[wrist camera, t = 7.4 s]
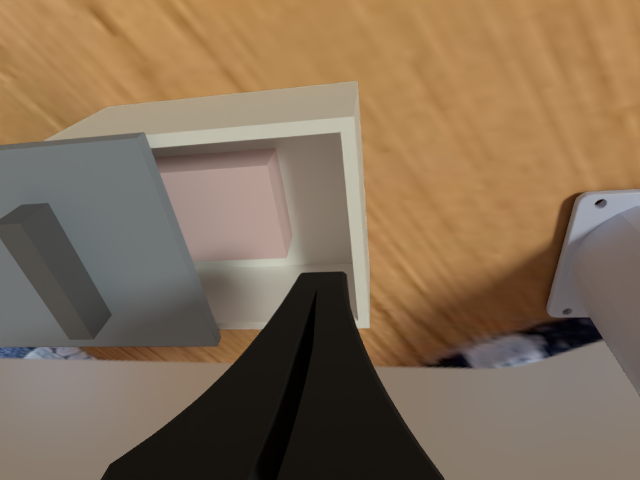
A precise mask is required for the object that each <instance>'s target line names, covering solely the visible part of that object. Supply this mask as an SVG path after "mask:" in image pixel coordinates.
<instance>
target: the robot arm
mask: <svg viewBox="0 0 640 480" xmlns="http://www.w3.org/2000/svg"><path fill="white" fill-rule="evenodd" d="M600 199H603V200H602V202H601V203H599V204H597V205H594V204H595V203H596V202H597V201H598V200H600ZM567 308H568V309H567ZM565 309H567V310H565ZM546 310H547V312H548V314H549V316H551V317H555V318H561V317H590V319H591V320H592V322H593V323H594V325H595V326H596V328H597V330H598V331H599V333H600V334H601V336H602V338H603V339H604V341H605V342H606V344H607V345H608V347H609V348H610V350H611V352H612V353H613V355H614V356H615V358H616V360H617V361H618V363H619V364H620V366H621V368H622V369H623V371H624V372H625V374H626V376H627V377H628V379H629V380H630V382H631V384H632V385H633V387H634V388H635V390H636V391H637V393H638V395H639V396H640V189H629V190H611V191H593V192H585V193H582V194H581V195H579V196H578V197H577V198H576V200H575V202H574V206H573V209H572V213H571V217H570V221H569V224H568V228H567V232H566V236H565V239H564V243H563V247H562V251H561V254H560V258H559V262H558V266H557V269H556V273H555V277H554V281H553V284H552V288H551V292H550V296H549V299H548V303H547V307H546ZM101 480H445V479H444V477H443V476H442V474H441V473H440V472H439V470H438V469H437V468H436V466H435V465H434V464H433V462H432V461H431V460H430V458H429V457H428V456H427V454H426V453H425V451H424V450H423V449H422V447H421V446H420V444H419V443H418V441H417V440H416V438H415V437H414V435H413V434H412V432H411V431H410V429H409V428H408V426H407V425H406V423H405V422H404V420H403V418H402V417H401V415H400V413H399V412H398V410H397V408H396V407H395V405H394V403H393V402H392V400H391V398H390V397H389V395H388V394H387V392H386V390H385V388H384V386H383V384H382V382H381V381H380V379H379V377H378V375H377V373H376V371H375V369H374V367H373V365H372V363H371V360H370V358H369V356H368V354H367V351H366V349H365V347H364V344H363V342H362V339H361V337H360V334H359V332H358V329H357V326H356V323H355V320H354V317H353V314H352V310H351V307H350V299H349V290H348V280H347V274H346V273H344V272H343V271H337V272H305V273H301V274H300V275H299V276H298V278H297V279H296V281H295V283H294V284H293V286H292V288H291V289H290V291H289V292H288V294H287V296H286V297H285V299H284V300H283V302H282V303H281V305H280V306H279V307H278V309H277V310H276V312H275V313H274V314H273V316H272V317H271V319H270V320H269V322H268V323H267V324H266V326H265V327H264V328H263V329H262V331H261V332H260V333H259V334H258V336H257V337H256V338H255V339H254V341H253V342H252V343H251V344H250V346H249V347H248V348H247V349H246V350H245V351H244V353H243V354H242V355H241V356H240V357H239V358H238V359H237V360H236V362H235V363H234V364H233V365H232V366H231V367H230V368H229V369H228V370H227V371H226V372H225V373H224V374H223V375H222V376H221V377H220V378H219V379H218V380H217V381H216V382H215V383H214V384H213V385H212V386H211V387H210V388H209V389H208V390H207V391H206V392H205V393H203V394H202V395H201V396H200V397H199V398H198V399H197V400H195V401H194V402H193V403H192V404H191V405H190V406H188V407H187V408H186V409H185V410H183V411H182V412H181V413H180V414H179V415H177V416H176V417H175V418H174V419H172V420H171V421H170V422H169V423H168V424H166V425H165V426H164V427H163V428H161V429H160V430H158V431H157V432H156V433H154V434H153V435H152V436H150V437H149V438H148V439H146V440H145V441H143V442H142V443H140V444H139V445H137V446H136V447H135V448H133V449H132V450H130V451H129V452H127V453H126V454H125V455H123V456H122V457H120V458H119V459H117V460H116V461H114V462H113V463H111V464H110V465H109V467H108V468H107V470H106V472H105V473H104V475H103V477H102V479H101Z"/></svg>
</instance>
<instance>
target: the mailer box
mask: <svg viewBox="0 0 640 480" xmlns="http://www.w3.org/2000/svg"><path fill="white" fill-rule="evenodd" d="M140 132H145V135H146V138H147V140H148V143H149V146H150V148H151V151H152V154H153V156H154V159H155V162H156V164H157V167H158V170H159V172H160V175H161V178H162V180H163V183H164V186H165V188H166V191H167V194H168V196H169V199H170V202H171V204H172V207H173V210H174V212H175V215H176V218H177V220H178V223H179V226H180V228H181V231H182V234H183V237H184V239H185V242H186V245H187V247H188V250H189V253H190V255H191V258H192V261H193V263H194V266H195V269H196V271H197V274H198V277H199V279H200V282H201V285H202V287H203V290H204V293H205V295H206V298H207V301H208V303H209V306H210V309H211V311H212V314H213V317H214V319H215V322H216V325H217V327H218V330H228V329H263V328H264V327H265V326H266V324H267V323H268V322H269V320H270V319H271V317H272V316H273V314H274V313H275V312H276V310H277V309H278V307H279V306H280V305H281V303H282V302H283V300H284V299H285V297H286V296H287V294H288V292H289V291H290V289H291V288H292V286H293V284H294V283H295V281H296V279H297V278H298V276H299V275H300V274H301V273H305V272H337V271H343V272H344V273H346V274H347V280H348V290H349V299H350V307H351V310H352V314H353V317H354V320H355V323H356V326H357V328H370V268H369V248H368V233H367V217H366V202H365V186H364V171H363V155H362V140H361V125H360V109H359V94H358V81H351V82H341V83H332V84H322V85H312V86H303V87H293V88H283V89H274V90H264V91H254V92H245V93H235V94H225V95H216V96H206V97H196V98H187V99H177V100H167V101H157V102H148V103H138V104H128V105H119V106H109V107H106V108H104V109H102V110H100V111H98V112H96V113H95V114H93V115H91V116H89V117H87V118H85V119H83V120H81V121H80V122H78V123H76V124H74V125H72V126H70V127H68V128H66V129H65V130H63V131H61V132H59V133H57V134H55V135H53V136H52V137H50V138H48V139H46V140H44V141H52V140H63V139H74V138H85V137H96V136H107V135H118V134H129V133H140Z"/></svg>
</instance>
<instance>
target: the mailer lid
mask: <svg viewBox="0 0 640 480" xmlns="http://www.w3.org/2000/svg"><path fill="white" fill-rule="evenodd" d="M220 338H221V335H220V333H219V330H218V327H217V325H216V322H215V319H214V317H213V314H212V311H211V309H210V306H209V303H208V301H207V298H206V295H205V293H204V290H203V287H202V285H201V282H200V279H199V277H198V274H197V271H196V269H195V266H194V263H193V261H192V258H191V255H190V253H189V250H188V247H187V245H186V242H185V239H184V237H183V234H182V231H181V228H180V226H179V223H178V220H177V218H176V215H175V212H174V210H173V207H172V204H171V202H170V199H169V196H168V194H167V191H166V188H165V186H164V183H163V180H162V178H161V175H160V172H159V170H158V167H157V164H156V162H155V159H154V156H153V154H152V151H151V148H150V146H149V143H148V140H147V138H146V135H145V132H140V133H129V134H118V135H107V136H96V137H85V138H74V139H63V140H52V141H41V142H30V143H19V144H8V145H0V347H191V346H218V343H219V341H220Z"/></svg>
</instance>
